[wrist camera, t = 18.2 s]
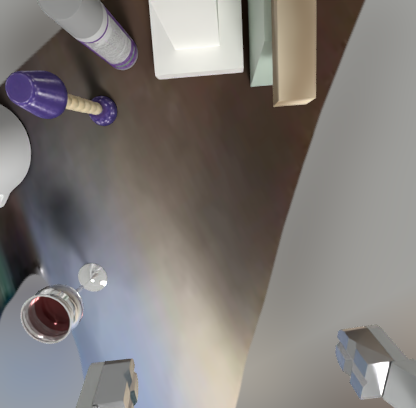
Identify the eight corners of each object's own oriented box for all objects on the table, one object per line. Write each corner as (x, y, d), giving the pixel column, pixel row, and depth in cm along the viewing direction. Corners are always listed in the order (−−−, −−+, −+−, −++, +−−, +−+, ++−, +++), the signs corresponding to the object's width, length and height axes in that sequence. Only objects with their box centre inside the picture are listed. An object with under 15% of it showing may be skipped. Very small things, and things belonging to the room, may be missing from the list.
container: (101, 43, 40) (25, -23, 25) (130, 29, 39) (70, -47, 24) (114, 75, 40) (47, 29, 26) (143, 62, 40) (92, 8, 25)
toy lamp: (117, 130, 42) (44, 114, 25) (87, 128, 42) (-4, 112, 26) (117, 96, 41) (42, 58, 25) (86, 95, 41) (-8, 56, 25)
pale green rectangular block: (250, 86, 39) (264, 41, 24) (247, -8, 37) (260, -127, 22) (279, 84, 39) (313, 36, 23) (277, -12, 37) (313, -135, 21)
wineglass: (116, 265, 46) (76, 303, 34) (108, 301, 47) (67, 350, 35) (77, 253, 46) (24, 287, 34) (69, 289, 47) (16, 335, 35)
